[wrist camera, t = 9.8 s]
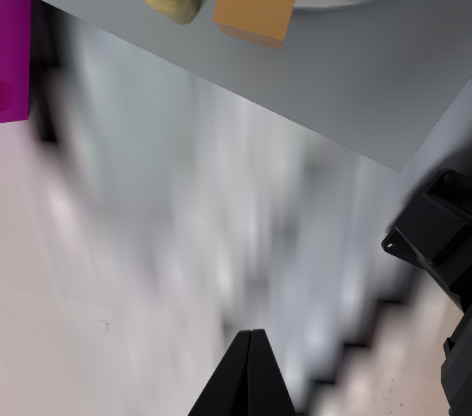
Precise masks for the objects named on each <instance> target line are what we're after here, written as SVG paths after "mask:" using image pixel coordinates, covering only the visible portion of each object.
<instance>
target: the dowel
mask: <svg viewBox="0 0 472 416" xmlns="http://www.w3.org/2000/svg"><path fill="white" fill-rule="evenodd" d="M143 1H144V2H145V3H147V4H148V5H150V6H151V7H153V8H154V9H156V10H157V11H159V12H160V13H161V14H163V15H164V16H166V17H167V18H169V19H170V20H172V21H173V22H175V23H176V24H179V25H186V24H189V23H190V22H192V21H193V20H194V19H195V17H196V16H197V13H198V10H199V0H143Z"/></svg>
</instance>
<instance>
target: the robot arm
mask: <svg viewBox="0 0 472 416" xmlns="http://www.w3.org/2000/svg"><path fill="white" fill-rule="evenodd" d="M448 174H449V177H448V179H446V180H444V177H445V176H446V175H448ZM389 244H392V246H390V247H387V246H388V245H389ZM381 246H382V248H383V249H384V251H385V252H387V253H389V254H391V255H393V256H396V257H398V258H400V259H402V260H404V261H407V262H409V263H411V264H413V265H415V266H418V267H420V268H422V269H424V270H426V271H427V272H428V273H429V274H430V275H431V277H432V278H433V279H434V280H435V281H436V282H437V284H438V285H439V286H440V287H441V288H442V289H443V291H444V292H445V293H446V294H447V295H448V296H449V298H450V299H451V300H452V301H453V302H454V303H455V305H456V306H457V307H458V308H459V309H460V310H461V311H462V313H463V314H464V316H463V317H462V319H461V321H460V322H459V324H458V326H457V327H456V329H455V331H454V333H453V334H452V336H451V338H447V339H446V341H445V343H444V344H443V348H444V352H445V356H446V360H445V361H444V363H443V365H442V366H441V384H442V387H443V389H444V392H445V395H446V397H447V400H448V403H449V405H450V409H449V415H450V416H472V179H470V178H468V177H466V176H464V175H462V174H460V173H458V172H456V171H454V170H451V169H448V168H446V169H442V170H440V171H439V172H438V173H437V174H436V176H435V177H434V178H433V179H432V181H431V182H430V183H429V184H428V186H427V187H426V188H425V189H424V190H423V192H422V193H421V194H420V195H418V196H417V197H416V199H415V200H414V201H413V202H412V204H411V205H410V206H409V207H408V209H407V210H406V211H405V212H404V214H403V215H402V216H401V217H400V219H399V220H398V221H397V222H396V224H395V226H394V228H393V229H392V230H391V231H390V233H389V234H388V235H387V236H386V237H385V239H384V240H383V241H382V243H381ZM188 416H297V414H296V411H295V409H294V406H293V403H292V401H291V398H290V396H289V393H288V390H287V388H286V385H285V382H284V380H283V377H282V374H281V372H280V369H279V366H278V364H277V361H276V359H275V356H274V353H273V351H272V348H271V345H270V343H269V340H268V337H267V335H266V332H265V330H264V329H254V330H252V331H251V330H241V331H239V332H238V333H237V335H236V336H235V338H234V340H233V341H232V343H231V345H230V346H229V348H228V350H227V351H226V353H225V355H224V356H223V358H222V360H221V361H220V363H219V365H218V366H217V368H216V369H215V371H214V373H213V374H212V376H211V378H210V379H209V381H208V383H207V384H206V386H205V388H204V389H203V391H202V393H201V394H200V396H199V398H198V399H197V401H196V403H195V404H194V406H193V407H192V409H191V411H190V412H189V414H188Z"/></svg>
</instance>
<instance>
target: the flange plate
mask: <svg viewBox="0 0 472 416" xmlns="http://www.w3.org/2000/svg"><path fill="white" fill-rule="evenodd" d="M380 1H382V0H216V4H215V10H214V15H213V22H214V23H215V24H216V25H217V26H218V28H219V29H220V30H221V31H222V32H223V34H225V35H228V36H232V37H235V38H239V39H242V40H246V41H249V42H253V43H257V44H260V45H264V46H267V47H271V48H274V49H278V50H281V48H282V45H283V42H284V38H285V35H286V31H287V28H288V24H289V21H290V17H291V14H292V12H298V13H326V12H335V11H344V10H350V9H354V8H358V7H361V6H365V5H369V4H373V3H377V2H380Z"/></svg>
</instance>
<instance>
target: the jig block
mask: <svg viewBox="0 0 472 416" xmlns="http://www.w3.org/2000/svg"><path fill="white" fill-rule="evenodd" d="M42 1H44V2H47V3H49V4H51V5H53V6H55V7H57V8H59V9H61V10H63V11H65V12H67V13H69V14H71V15H74V16H76V17H78V18H80V19H82V20H84V21H86V22H88V23H90V24H92V25H94V26H96V27H98V28H101V29H103V30H105V31H107V32H109V33H111V34H113V35H115V36H117V37H119V38H121V39H123V40H125V41H128V42H130V43H132V44H134V45H136V46H138V47H140V48H142V49H144V50H146V51H148V52H150V53H152V54H155V55H157V56H159V57H161V58H163V59H165V60H167V61H169V62H171V63H173V64H175V65H177V66H179V67H182V68H184V69H186V70H188V71H190V72H192V73H194V74H196V75H198V76H200V77H202V78H204V79H206V80H209V81H211V82H213V83H215V84H217V85H219V86H221V87H223V88H225V89H227V90H229V91H231V92H233V93H236V94H238V95H240V96H242V97H244V98H246V99H248V100H250V101H252V102H254V103H256V104H258V105H260V106H262V107H265V108H267V109H269V110H271V111H273V112H275V113H277V114H279V115H281V116H283V117H285V118H287V119H289V120H292V121H294V122H296V123H298V124H300V125H302V126H304V127H306V128H308V129H310V130H312V131H314V132H316V133H319V134H321V135H323V136H325V137H327V138H329V139H331V140H333V141H335V142H337V143H339V144H341V145H343V146H346V147H348V148H350V149H352V150H354V151H356V152H358V153H360V154H362V155H364V156H366V157H368V158H370V159H373V160H375V161H377V162H379V163H381V164H383V165H385V166H387V167H389V168H391V169H393V170H395V171H397V172H401V171H402V169H403V168H404V167H405V165H406V164H407V162H408V161H409V160H410V158H411V157H412V156H413V154H414V153H415V152H416V150H417V149H418V148H419V146H420V145H421V144H422V142H423V141H424V140H425V138H426V137H427V136H428V134H429V133H430V132H431V130H432V129H433V127H434V126H435V125H436V123H437V122H438V121H439V119H440V118H441V117H442V115H443V114H444V113H445V111H446V110H447V109H448V107H449V106H450V105H451V103H452V102H453V101H454V99H455V98H456V97H457V95H458V94H459V92H460V91H461V90H462V88H463V87H464V86H465V84H466V83H467V82H468V80H469V79H470V78H471V76H472V0H382V1H380V2H377V3H373V4H369V5H365V6H361V7H358V8H354V9H350V10H344V11H335V12H326V13H298V12H292V14H291V17H290V21H289V24H288V28H287V31H286V35H285V38H284V42H283V45H282V48H281V50H278V49H274V48H271V47H267V46H264V45H260V44H257V43H253V42H249V41H246V40H242V39H239V38H235V37H232V36H228V35H225V34H223V32H222V31H221V30H220V29H219V28H218V26H217V25H216V24H215V23H214V22H213V15H214V10H215V4H216V0H199V10H198V13H197V16H196V17H195V19H194V20H193V21H192V22H190V23H189V24H186V25H179V24H176V23H175V22H173V21H172V20H170V19H169V18H167V17H166V16H164V15H163V14H161V13H160V12H159V11H157V10H156V9H154V8H153V7H151V6H150V5H148V4H147V3H145V2H144V1H143V0H42Z"/></svg>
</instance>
